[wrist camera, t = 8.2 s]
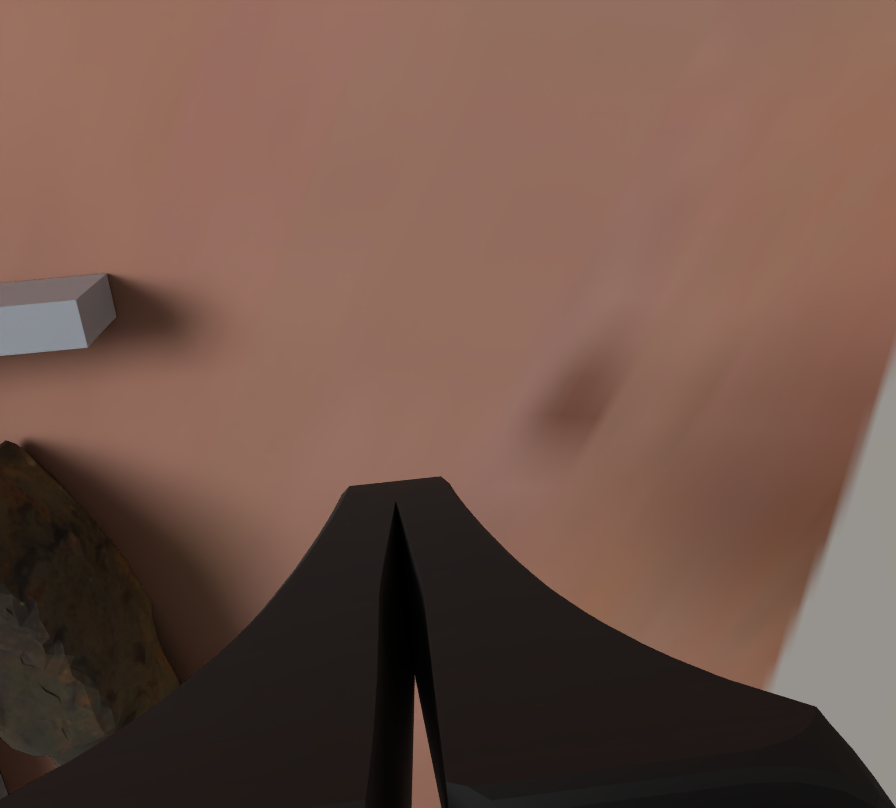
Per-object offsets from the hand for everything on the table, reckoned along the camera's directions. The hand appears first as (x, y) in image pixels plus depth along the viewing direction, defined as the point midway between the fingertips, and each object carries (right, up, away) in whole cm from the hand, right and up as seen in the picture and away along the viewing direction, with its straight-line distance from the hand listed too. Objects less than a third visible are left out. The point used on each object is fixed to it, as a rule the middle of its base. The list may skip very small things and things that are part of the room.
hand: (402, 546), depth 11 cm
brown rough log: (-8, -7, +13) cm, 17 cm away
